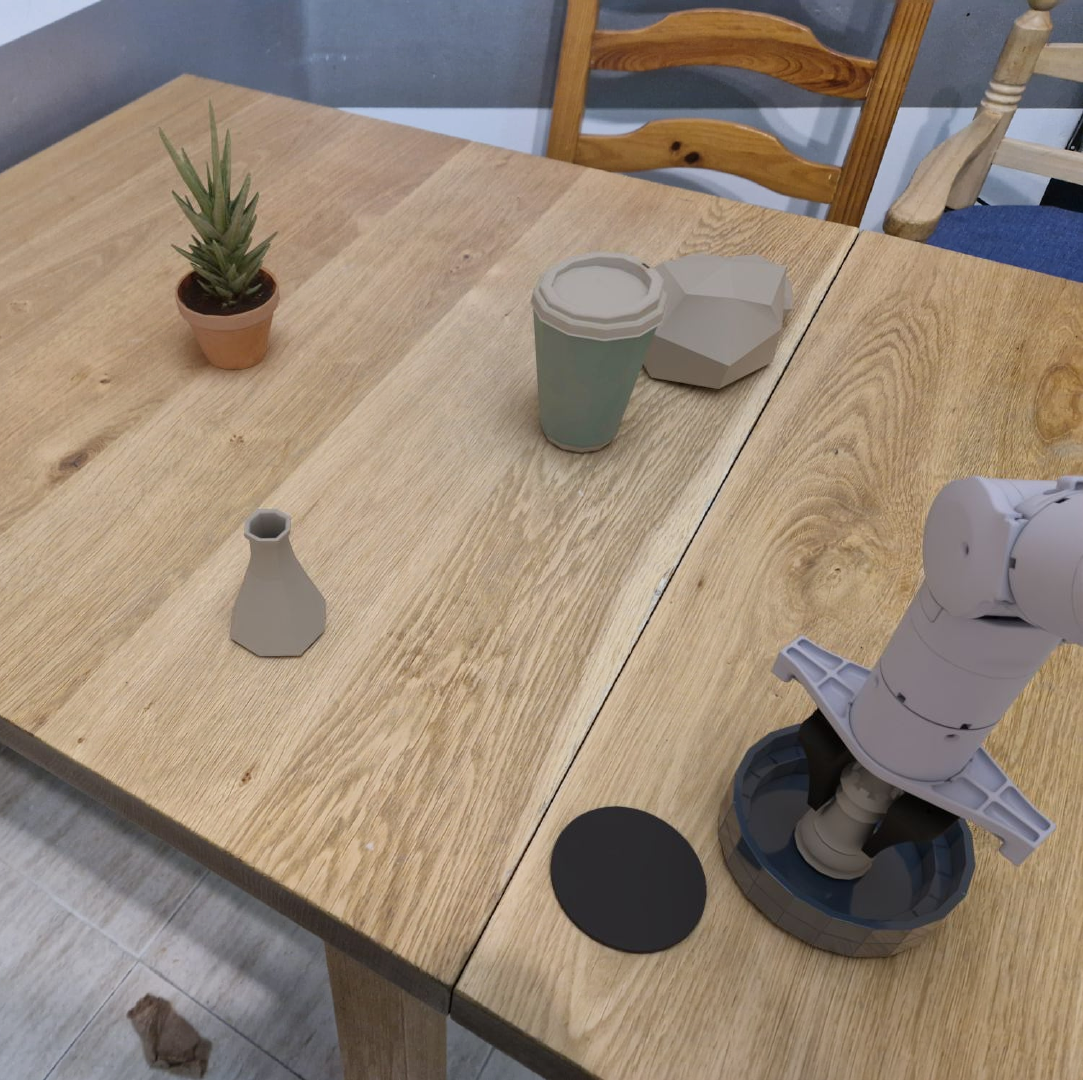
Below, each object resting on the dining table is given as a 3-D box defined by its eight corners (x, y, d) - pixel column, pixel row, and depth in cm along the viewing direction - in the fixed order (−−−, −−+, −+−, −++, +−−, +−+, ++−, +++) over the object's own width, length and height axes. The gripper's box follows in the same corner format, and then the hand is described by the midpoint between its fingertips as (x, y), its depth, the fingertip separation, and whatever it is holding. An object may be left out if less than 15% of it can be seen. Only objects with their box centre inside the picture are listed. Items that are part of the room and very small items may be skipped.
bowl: (991, 873, 59) (1021, 840, 56) (856, 1008, 54) (882, 979, 51) (806, 724, 67) (825, 688, 64) (672, 830, 61) (686, 796, 59)
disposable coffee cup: (558, 483, 84) (584, 330, 73) (492, 411, 90) (506, 262, 80) (662, 446, 87) (701, 294, 76) (590, 379, 94) (617, 232, 83)
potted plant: (180, 383, 94) (133, 121, 76) (191, 326, 101) (150, 72, 83) (287, 381, 94) (264, 118, 76) (290, 323, 101) (270, 70, 83)
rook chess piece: (791, 871, 59) (835, 802, 53) (792, 806, 62) (833, 733, 56) (872, 892, 58) (925, 823, 52) (869, 824, 61) (919, 753, 55)
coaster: (737, 893, 59) (739, 890, 58) (629, 986, 55) (630, 983, 55) (624, 783, 64) (625, 780, 63) (518, 862, 60) (519, 859, 60)
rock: (575, 307, 102) (589, 219, 95) (750, 276, 106) (776, 189, 99) (661, 414, 90) (684, 322, 83) (855, 374, 93) (893, 283, 87)
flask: (252, 575, 77) (238, 478, 70) (341, 596, 75) (336, 499, 68) (213, 646, 72) (194, 550, 65) (307, 670, 70) (299, 574, 63)
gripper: (1140, 741, 46) (1007, 878, 55) (862, 556, 54) (789, 703, 64) (1057, 826, 43) (932, 954, 52) (777, 616, 51) (714, 760, 61)
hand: (849, 821), depth 58 cm, fingers closed on rook chess piece, 3 cm apart
